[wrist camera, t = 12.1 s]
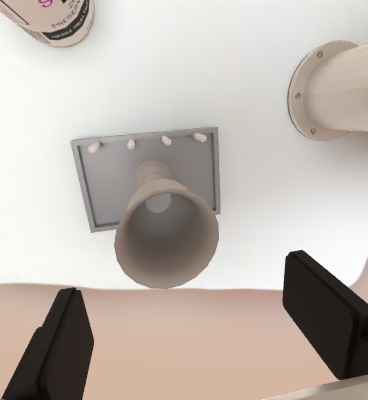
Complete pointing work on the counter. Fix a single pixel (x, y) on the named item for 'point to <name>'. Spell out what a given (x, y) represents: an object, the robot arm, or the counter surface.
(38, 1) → the supplement can
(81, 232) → the counter surface
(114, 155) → the drying rack
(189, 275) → the chalice
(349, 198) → the counter surface
